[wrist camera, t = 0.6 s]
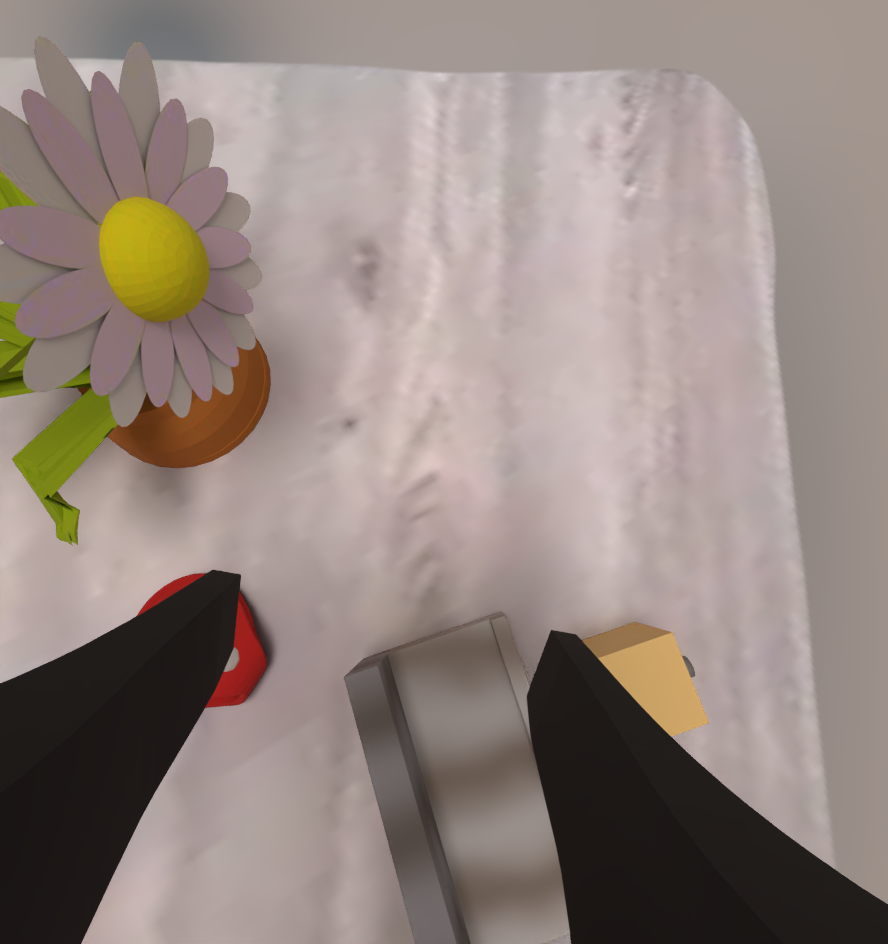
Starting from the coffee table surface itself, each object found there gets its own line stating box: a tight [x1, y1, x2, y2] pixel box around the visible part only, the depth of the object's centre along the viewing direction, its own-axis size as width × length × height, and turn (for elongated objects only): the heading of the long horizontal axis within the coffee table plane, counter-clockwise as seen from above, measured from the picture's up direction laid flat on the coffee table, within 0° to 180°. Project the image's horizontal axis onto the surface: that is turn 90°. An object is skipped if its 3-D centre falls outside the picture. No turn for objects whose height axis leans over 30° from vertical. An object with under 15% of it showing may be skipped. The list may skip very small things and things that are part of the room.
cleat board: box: [344, 612, 570, 944], centre depth 29 cm, size 18×10×6 cm, turn 18°
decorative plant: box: [0, 36, 270, 545], centre depth 26 cm, size 27×24×25 cm
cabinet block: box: [582, 622, 709, 736], centre depth 30 cm, size 5×6×6 cm
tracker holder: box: [137, 574, 267, 708], centre depth 32 cm, size 12×4×10 cm
